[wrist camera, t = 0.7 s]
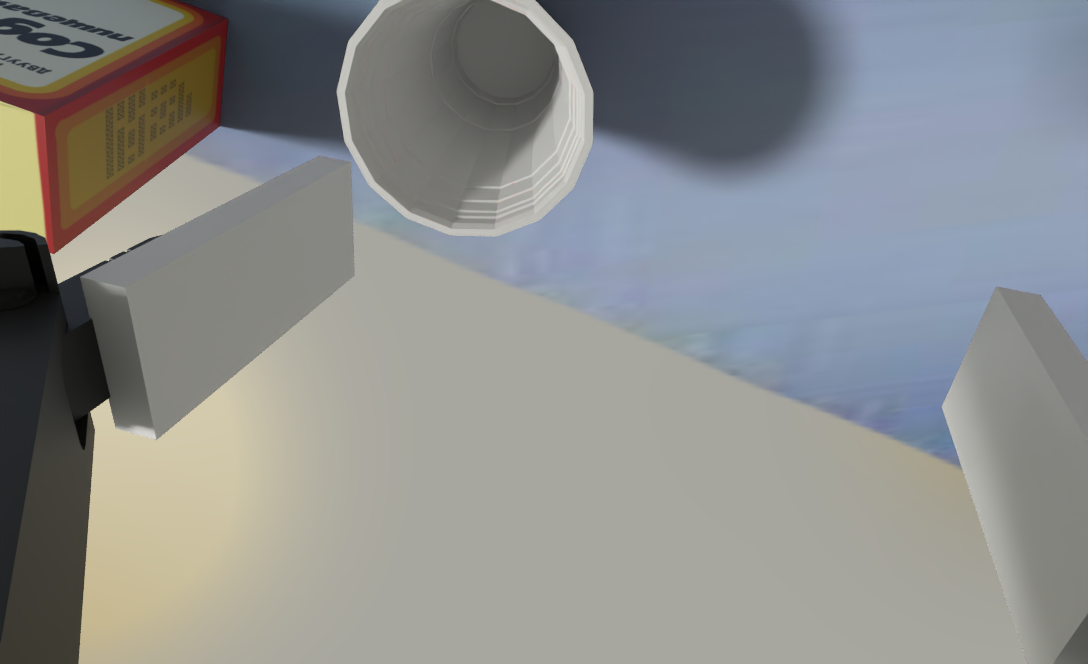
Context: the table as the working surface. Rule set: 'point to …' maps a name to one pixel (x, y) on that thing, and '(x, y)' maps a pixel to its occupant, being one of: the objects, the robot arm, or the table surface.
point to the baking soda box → (99, 104)
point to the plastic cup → (466, 111)
